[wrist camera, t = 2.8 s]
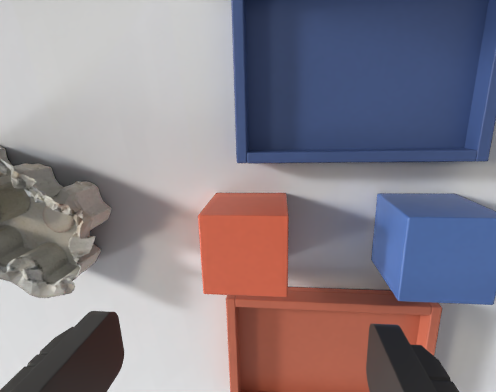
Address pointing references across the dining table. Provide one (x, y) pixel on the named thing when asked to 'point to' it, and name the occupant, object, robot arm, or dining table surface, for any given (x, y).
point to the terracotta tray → (316, 337)
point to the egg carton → (46, 228)
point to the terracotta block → (245, 244)
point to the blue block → (436, 248)
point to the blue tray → (364, 80)
